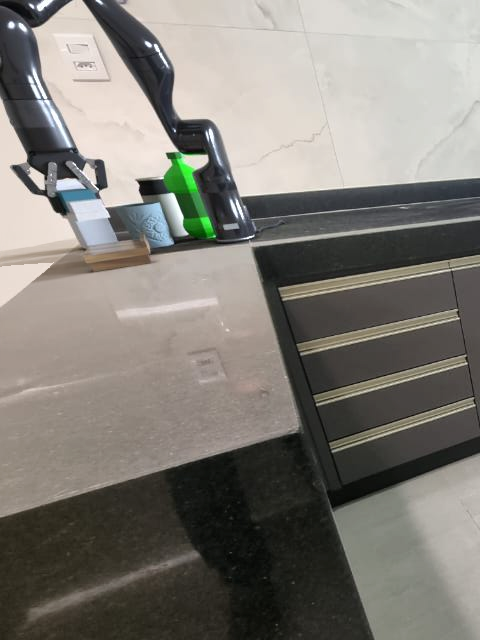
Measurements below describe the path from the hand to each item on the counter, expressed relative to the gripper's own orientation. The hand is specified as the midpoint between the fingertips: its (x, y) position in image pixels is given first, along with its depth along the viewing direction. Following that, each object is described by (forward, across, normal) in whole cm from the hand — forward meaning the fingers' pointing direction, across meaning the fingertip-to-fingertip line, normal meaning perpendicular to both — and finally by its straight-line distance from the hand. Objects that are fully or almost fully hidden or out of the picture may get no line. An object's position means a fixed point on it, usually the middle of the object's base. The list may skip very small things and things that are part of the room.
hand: (82, 212), depth 112 cm
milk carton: (+16, +11, +62) cm, 65 cm away
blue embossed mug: (+16, +20, +45) cm, 52 cm away
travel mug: (+16, +29, +58) cm, 67 cm away
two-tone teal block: (+1, 0, -2) cm, 2 cm away
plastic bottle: (+16, +33, +44) cm, 57 cm away
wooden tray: (+15, +8, +27) cm, 32 cm away
